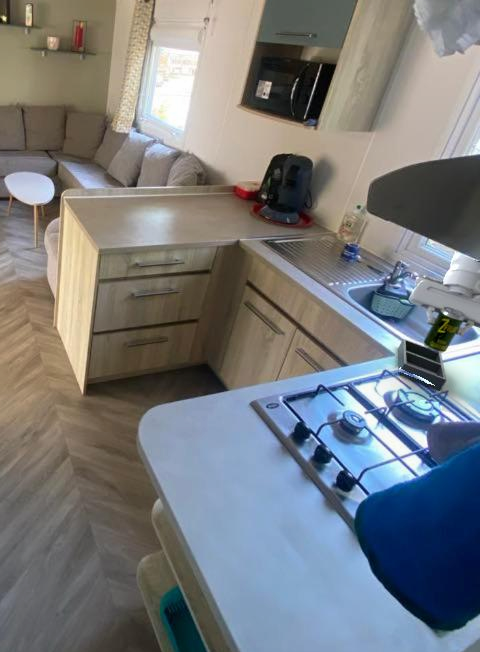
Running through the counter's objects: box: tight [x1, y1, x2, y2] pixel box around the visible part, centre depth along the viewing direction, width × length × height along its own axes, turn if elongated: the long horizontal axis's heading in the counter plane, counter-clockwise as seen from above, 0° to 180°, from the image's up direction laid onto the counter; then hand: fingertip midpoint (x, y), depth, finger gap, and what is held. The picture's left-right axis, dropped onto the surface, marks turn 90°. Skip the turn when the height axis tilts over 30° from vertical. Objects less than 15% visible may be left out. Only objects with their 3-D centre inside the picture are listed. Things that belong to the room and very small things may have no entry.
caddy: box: [397, 338, 447, 392], centre depth 125 cm, size 10×17×4 cm, turn 145°
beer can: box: [423, 307, 465, 354], centre depth 117 cm, size 5×5×12 cm
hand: (444, 329), depth 116 cm, fingers closed on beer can, 5 cm apart
